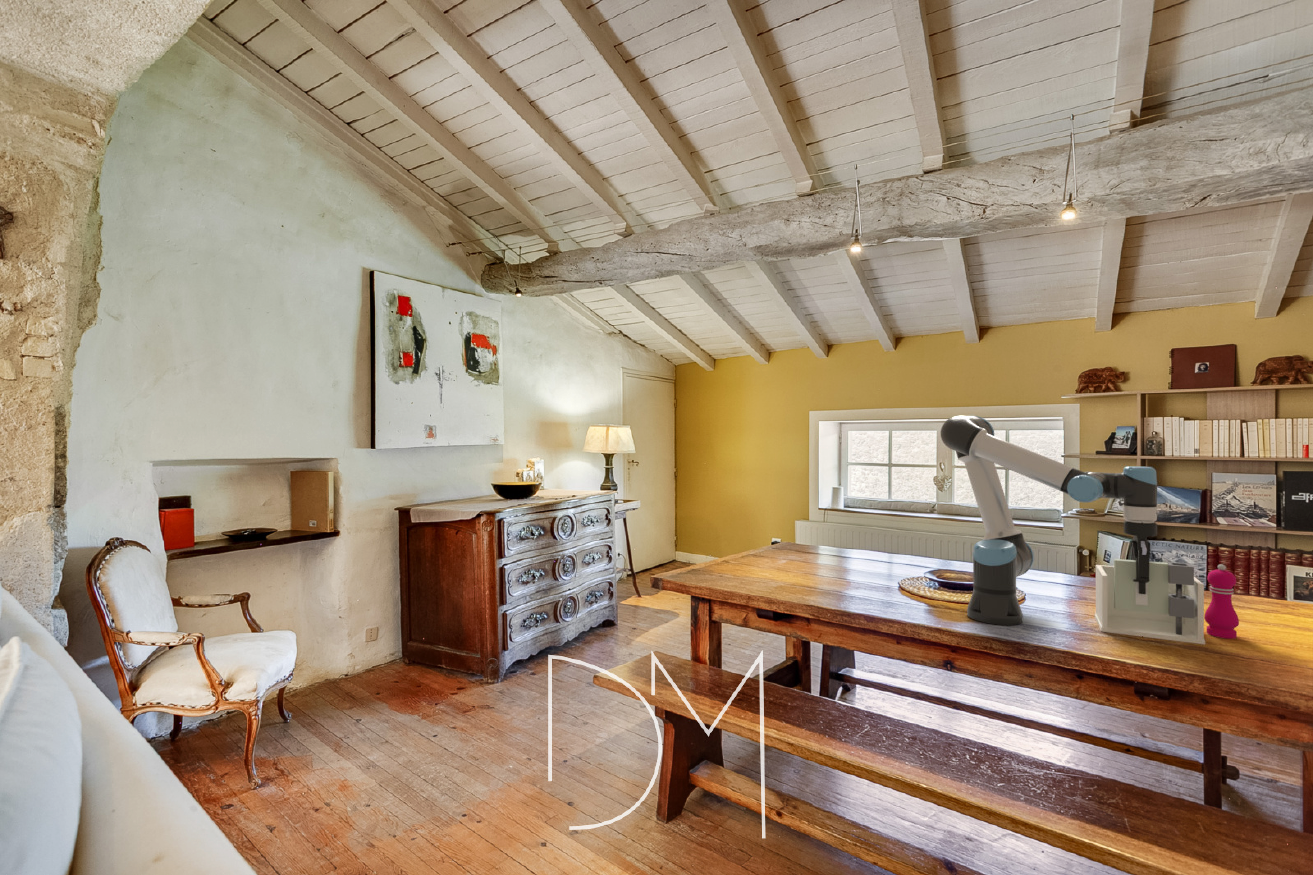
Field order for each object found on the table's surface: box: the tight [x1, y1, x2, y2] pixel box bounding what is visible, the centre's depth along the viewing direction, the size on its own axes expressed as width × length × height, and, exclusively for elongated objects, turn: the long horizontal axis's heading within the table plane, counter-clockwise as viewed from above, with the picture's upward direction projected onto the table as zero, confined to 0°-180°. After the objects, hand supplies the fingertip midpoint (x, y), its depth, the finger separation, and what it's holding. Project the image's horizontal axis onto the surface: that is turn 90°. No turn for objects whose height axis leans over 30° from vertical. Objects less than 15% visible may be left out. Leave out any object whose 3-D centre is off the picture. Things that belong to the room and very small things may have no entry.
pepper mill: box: [1204, 563, 1240, 640], centre depth 175 cm, size 7×7×20 cm
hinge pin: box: [1176, 584, 1182, 635], centre depth 173 cm, size 1×1×17 cm
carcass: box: [1094, 564, 1206, 645], centre depth 180 cm, size 23×16×16 cm
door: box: [1113, 558, 1195, 618], centre depth 176 cm, size 17×5×14 cm, turn 60°
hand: (1140, 603), depth 177 cm, fingers closed on door, 2 cm apart
